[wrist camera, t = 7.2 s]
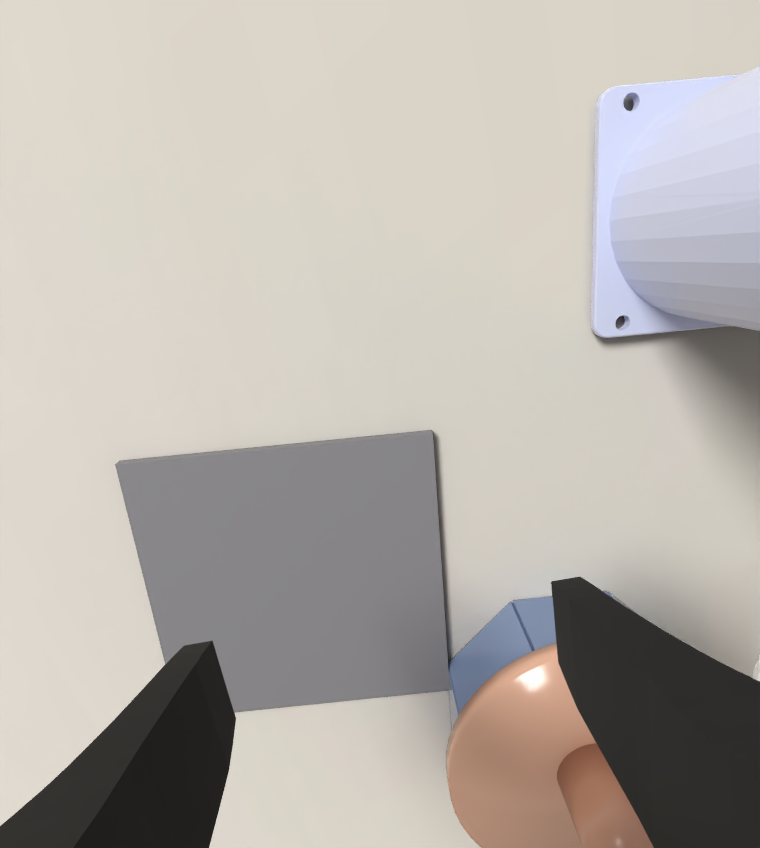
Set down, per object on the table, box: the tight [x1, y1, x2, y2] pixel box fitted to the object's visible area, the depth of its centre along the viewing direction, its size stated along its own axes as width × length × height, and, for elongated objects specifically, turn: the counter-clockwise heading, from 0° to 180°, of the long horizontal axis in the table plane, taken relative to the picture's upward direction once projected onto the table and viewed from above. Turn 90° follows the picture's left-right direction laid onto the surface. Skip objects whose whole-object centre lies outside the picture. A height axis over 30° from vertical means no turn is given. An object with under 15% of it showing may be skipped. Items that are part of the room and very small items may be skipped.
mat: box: [115, 430, 450, 712], centre depth 23 cm, size 12×12×1 cm
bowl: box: [448, 591, 632, 729], centre depth 23 cm, size 10×10×4 cm
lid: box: [446, 643, 654, 848], centre depth 19 cm, size 11×11×5 cm
